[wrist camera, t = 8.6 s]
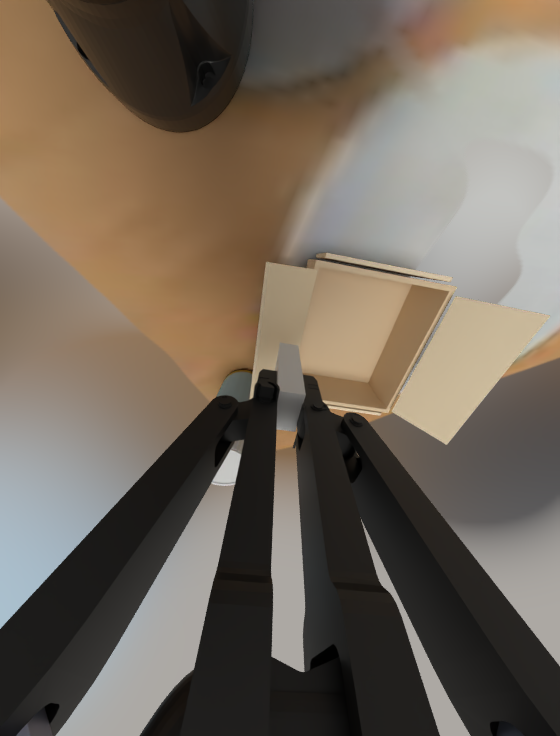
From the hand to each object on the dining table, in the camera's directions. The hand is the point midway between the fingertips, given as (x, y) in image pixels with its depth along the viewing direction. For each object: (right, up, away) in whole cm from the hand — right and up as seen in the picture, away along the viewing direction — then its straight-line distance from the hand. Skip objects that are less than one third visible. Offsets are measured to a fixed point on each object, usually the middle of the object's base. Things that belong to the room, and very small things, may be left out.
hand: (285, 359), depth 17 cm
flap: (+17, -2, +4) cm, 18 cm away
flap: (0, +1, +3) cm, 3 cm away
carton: (+9, +5, +12) cm, 16 cm away
